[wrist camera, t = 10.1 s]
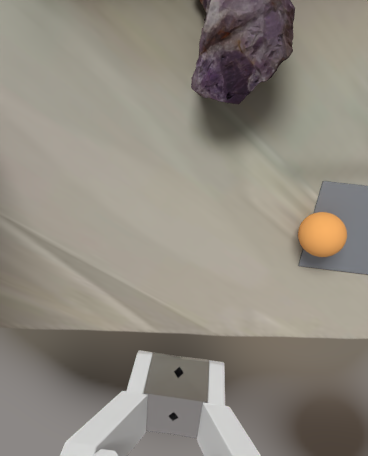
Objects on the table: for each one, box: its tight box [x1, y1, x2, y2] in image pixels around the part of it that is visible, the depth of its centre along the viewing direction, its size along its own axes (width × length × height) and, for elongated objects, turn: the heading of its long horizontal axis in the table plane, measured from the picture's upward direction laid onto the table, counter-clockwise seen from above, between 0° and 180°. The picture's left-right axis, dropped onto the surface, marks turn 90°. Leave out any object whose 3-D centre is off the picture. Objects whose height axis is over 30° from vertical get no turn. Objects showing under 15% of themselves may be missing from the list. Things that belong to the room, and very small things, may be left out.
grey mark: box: [299, 181, 368, 274], centre depth 42 cm, size 12×12×1 cm
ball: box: [298, 212, 347, 257], centre depth 39 cm, size 5×5×5 cm
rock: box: [191, 0, 295, 104], centre depth 30 cm, size 12×9×10 cm
